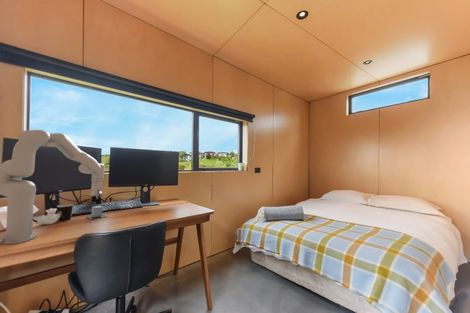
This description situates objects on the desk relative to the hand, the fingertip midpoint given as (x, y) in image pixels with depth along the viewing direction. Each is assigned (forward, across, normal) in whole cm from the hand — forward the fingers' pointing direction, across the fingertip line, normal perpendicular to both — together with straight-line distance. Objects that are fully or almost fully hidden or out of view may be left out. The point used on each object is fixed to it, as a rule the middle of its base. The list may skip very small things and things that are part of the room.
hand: (96, 203), depth 146 cm
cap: (+9, 0, +1) cm, 9 cm away
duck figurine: (+11, -5, -24) cm, 27 cm away
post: (+10, 0, +1) cm, 10 cm away
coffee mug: (+11, -10, -16) cm, 22 cm away
